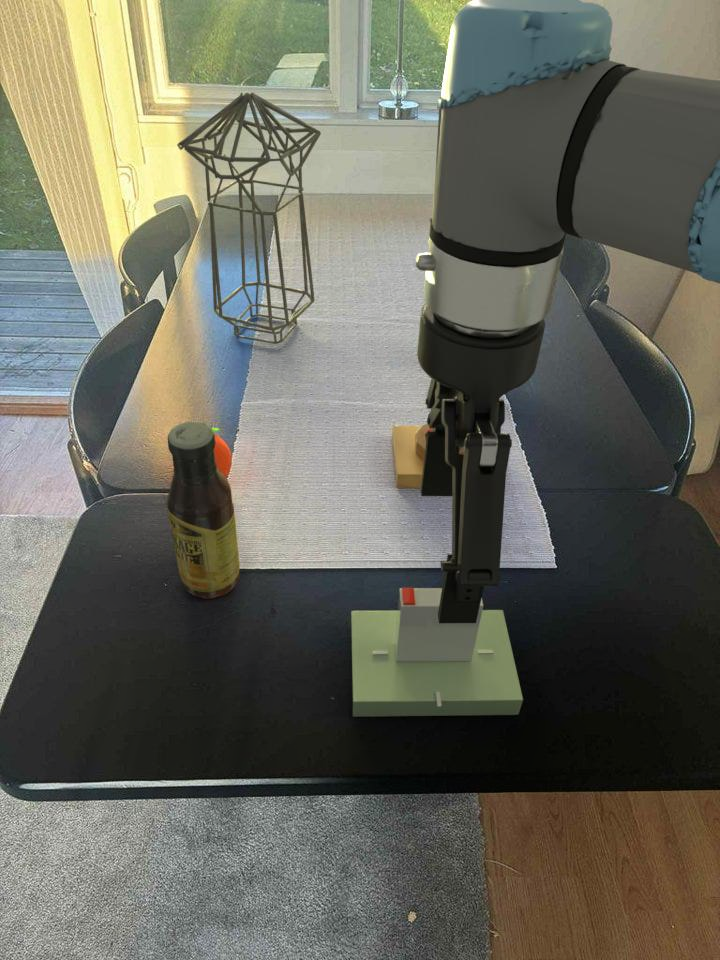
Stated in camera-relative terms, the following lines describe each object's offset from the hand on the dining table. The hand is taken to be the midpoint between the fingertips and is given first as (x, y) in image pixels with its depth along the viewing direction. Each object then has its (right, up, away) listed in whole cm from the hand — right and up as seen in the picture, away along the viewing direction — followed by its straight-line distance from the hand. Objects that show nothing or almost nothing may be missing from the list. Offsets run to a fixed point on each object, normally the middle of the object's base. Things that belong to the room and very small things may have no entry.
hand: (445, 550), depth 56 cm
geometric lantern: (-23, +30, +59) cm, 70 cm away
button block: (+3, +8, +34) cm, 35 cm away
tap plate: (0, -12, +11) cm, 16 cm away
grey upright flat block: (0, -10, +9) cm, 14 cm away
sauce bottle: (-23, -5, +18) cm, 30 cm away
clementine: (-26, +6, +31) cm, 40 cm away
